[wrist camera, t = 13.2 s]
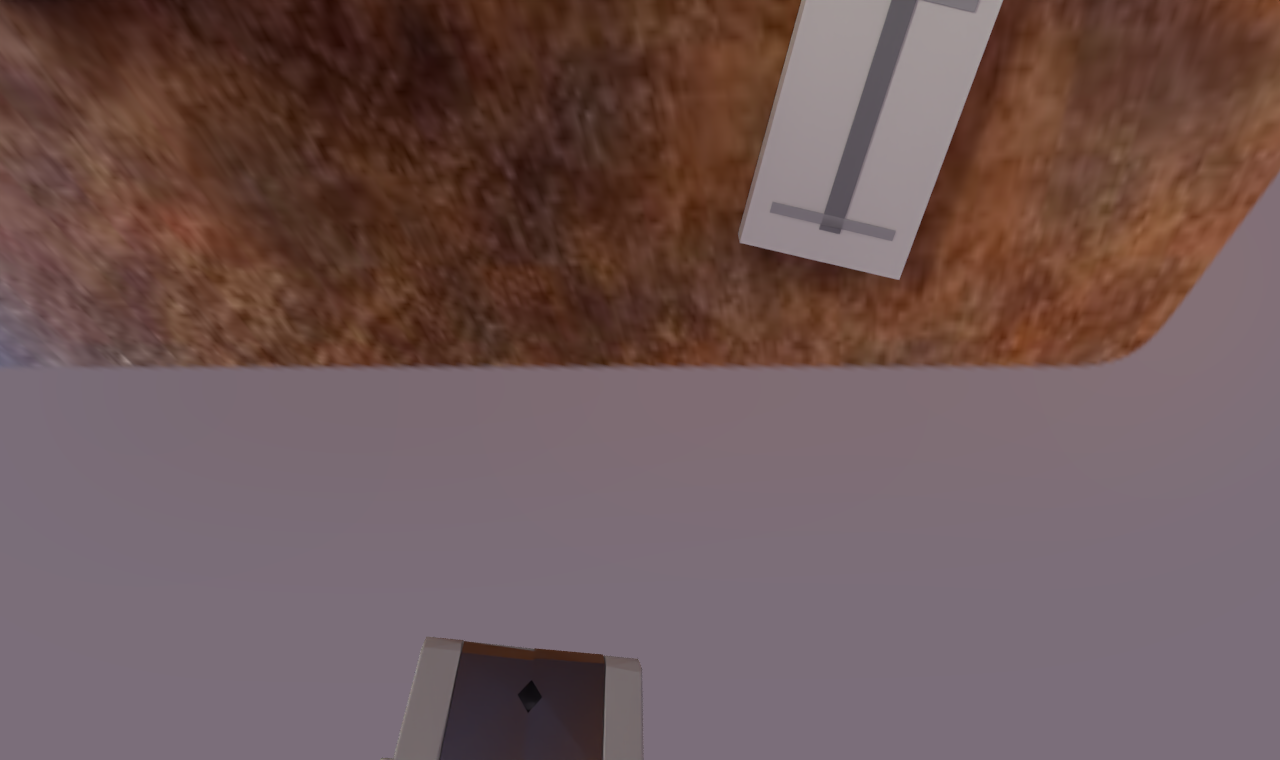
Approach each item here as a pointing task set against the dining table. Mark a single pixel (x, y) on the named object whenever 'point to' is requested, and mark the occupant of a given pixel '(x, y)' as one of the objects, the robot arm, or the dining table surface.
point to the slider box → (863, 127)
